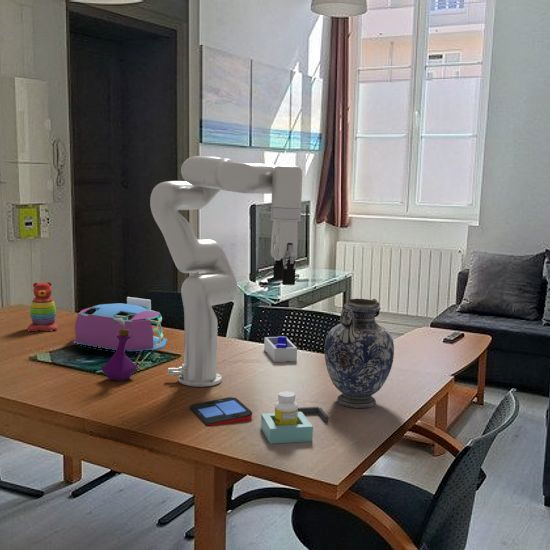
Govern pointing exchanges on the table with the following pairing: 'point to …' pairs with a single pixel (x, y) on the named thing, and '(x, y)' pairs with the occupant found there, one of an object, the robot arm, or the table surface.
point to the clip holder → (280, 350)
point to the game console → (221, 411)
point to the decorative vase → (359, 354)
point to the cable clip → (281, 342)
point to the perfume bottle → (120, 358)
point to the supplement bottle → (286, 409)
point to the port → (286, 429)
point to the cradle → (314, 410)
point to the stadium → (120, 326)
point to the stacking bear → (42, 308)
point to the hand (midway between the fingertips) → (283, 281)
